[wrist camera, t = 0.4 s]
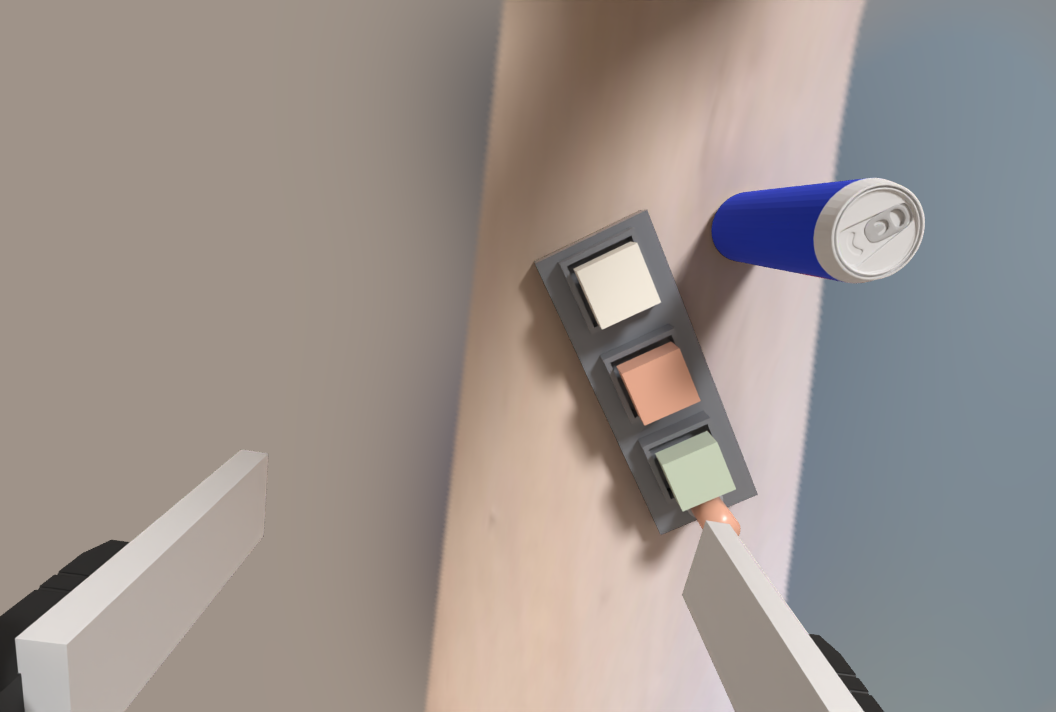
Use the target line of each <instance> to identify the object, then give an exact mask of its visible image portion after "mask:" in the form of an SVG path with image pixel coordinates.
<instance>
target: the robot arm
mask: <svg viewBox="0 0 1056 712" xmlns="http://www.w3.org/2000/svg"><path fill="white" fill-rule="evenodd" d="M268 456H269V454H268V453H263V452H256V451H250V450H243V449H241V450H240V451H239V452H237V453H236V454H235V455H234V456H233V457H231V458H230V459H229V460H228V461H227V462H225V463H224V464H223V465H222V466H221V467H219V468H218V469H217V470H216V471H215V472H213V473H212V474H211V475H210V476H209V477H207V478H206V479H205V480H204V481H203V482H201V483H200V484H199V485H198V486H197V487H195V488H194V489H193V490H192V491H191V492H189V493H188V494H187V495H186V496H185V497H183V498H182V499H181V500H180V501H179V502H178V503H176V504H175V505H174V506H173V507H172V508H170V509H169V510H168V511H167V512H166V513H164V514H163V515H162V516H161V517H160V518H158V519H157V520H156V521H155V522H154V523H153V524H151V525H150V526H149V527H148V528H147V529H145V530H144V531H143V532H142V533H141V534H140V535H138V536H137V537H136V538H135V539H133V540H132V541H131V542H124V541H117V540H110V541H108V542H106V543H103V544H101V545H100V546H97V547H95V548H93V549H91V550H88V551H86V552H84V553H82V554H81V555H79V556H78V557H77V558H76V559H74V560H73V561H72V562H71V563H69V564H68V565H66V566H65V567H64V568H63V569H61V570H60V571H59V573H58V575H53V576H52V577H51V578H50V579H48V580H47V581H46V582H44V583H43V584H42V585H40V588H39V589H38V590H34V591H33V592H32V593H30V594H29V595H28V596H26V597H25V598H24V599H22V600H21V601H20V602H18V603H17V604H16V605H15V606H13V607H12V608H11V609H9V610H8V611H7V612H5V613H4V614H3V615H2V616H0V712H124V711H125V710H126V709H127V708H128V706H129V705H130V704H131V702H132V701H133V700H134V699H135V697H136V696H137V695H138V694H139V692H140V691H141V690H142V689H143V687H144V686H145V685H146V684H147V682H148V681H149V680H150V679H151V677H152V676H153V675H154V674H155V672H156V671H157V670H158V669H159V667H160V666H161V665H162V664H163V662H164V661H165V660H166V658H167V657H168V656H169V655H170V653H171V652H172V651H173V650H174V648H175V647H176V646H177V645H178V643H179V642H180V641H181V640H182V638H183V637H184V636H185V635H186V633H187V632H188V631H189V630H190V628H191V627H192V626H193V624H194V623H195V622H196V621H197V619H198V618H199V617H200V616H201V614H202V613H203V612H204V611H205V609H206V608H207V607H208V606H209V604H210V603H211V602H212V601H213V599H214V598H215V597H216V595H217V594H218V593H219V592H220V590H221V589H222V588H223V587H224V585H225V584H226V583H227V582H228V580H229V579H230V578H231V577H232V575H233V574H234V573H235V572H236V570H237V569H238V568H239V566H240V565H241V564H242V563H243V561H244V560H245V559H246V558H247V556H248V555H249V554H250V552H251V551H252V550H253V549H254V548H255V546H256V545H257V544H258V543H259V541H260V540H261V539H262V537H263V536H264V524H265V507H266V490H267V472H268ZM682 596H683V598H684V600H685V602H686V604H687V607H688V609H689V611H690V613H691V615H692V618H693V620H694V622H695V624H696V626H697V629H698V631H699V633H700V635H701V638H702V640H703V642H704V644H705V646H706V649H707V651H708V653H709V655H710V657H711V660H712V662H713V664H714V666H715V668H716V671H717V673H718V675H719V677H720V679H721V682H722V684H723V686H724V688H725V691H726V693H727V695H728V697H729V699H730V702H731V704H732V706H733V708H734V710H735V712H884V711H883V710H882V709H881V707H880V706H879V704H878V703H877V702H876V701H875V699H874V698H873V697H872V696H871V695H869V694H868V690H867V689H866V687H865V686H864V685H863V683H862V682H861V681H860V679H859V678H856V676H855V675H856V674H855V673H854V671H853V670H852V669H851V667H850V666H849V665H848V663H847V662H846V661H845V659H844V658H843V657H842V656H841V654H840V653H839V652H838V651H836V650H835V649H834V648H833V647H832V646H831V645H830V644H828V643H827V642H826V641H825V640H824V639H823V638H822V637H821V636H819V635H814V634H808V633H807V631H806V630H805V629H804V627H803V626H802V625H801V623H800V622H799V621H798V619H797V617H796V616H795V615H794V613H793V612H792V610H791V609H790V608H789V606H788V605H787V603H786V602H785V601H784V599H783V598H782V597H781V595H780V594H779V592H778V591H777V590H776V588H775V587H774V585H773V584H772V583H771V581H770V580H769V578H768V577H767V576H766V574H765V573H764V571H763V570H762V569H761V567H760V566H759V564H758V563H757V562H756V560H755V559H754V557H753V556H752V555H751V553H750V552H749V550H748V549H747V548H746V546H745V545H744V543H743V542H742V541H741V539H740V538H739V536H738V535H737V534H736V532H735V531H734V529H733V528H732V527H731V525H730V524H726V523H720V522H713V521H707V520H706V522H705V525H704V528H703V531H702V534H701V537H700V540H699V543H698V547H697V550H696V553H695V556H694V559H693V562H692V565H691V568H690V572H689V575H688V578H687V581H686V584H685V587H684V590H683V594H682Z"/></svg>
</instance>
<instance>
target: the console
mask: <svg viewBox="0 0 1056 712" xmlns="http://www.w3.org/2000/svg"><path fill="white" fill-rule="evenodd" d="M630 241H631V242H636V243H638V246H639V248H640V251H641V253H642V256H643V258H644V261H645V263H646V266H647V268H648V271H649V273H650V276H651V278H652V281H653V283H654V286H655V288H656V291H657V293H658V296H659V298H660V301H661V303H659V304H657V305H654V306H652V307H650V308H648V309H646V310H644V311H641V312H639V313H637V314H635V315H633V316H631V317H628V318H626V319H624V320H622V321H620V322H618V323H615V324H613V325H611V326H609V327H607V328H605V329H601V327H600V326H599V325H598V324H597V321H596V319H595V317H594V315H593V312H592V310H591V308H590V306H589V303H588V301H587V299H586V297H585V294H584V292H583V290H582V287H581V285H580V283H579V281H578V278H577V276H576V274H575V272H574V268H576V267H578V266H580V265H582V264H584V263H586V262H588V261H591V260H593V259H595V258H597V257H599V256H601V255H603V254H605V253H607V252H609V251H612V250H614V249H616V248H618V247H620V246H622V245H624V244H626V243H628V242H630ZM534 263H535V265H536V267H537V269H538V271H539V273H540V276H541V278H542V280H543V282H544V284H545V286H546V289H547V291H548V293H549V295H550V297H551V299H552V302H553V304H554V306H555V308H556V310H557V312H558V314H559V317H560V319H561V321H562V323H563V325H564V327H565V330H566V332H567V334H568V336H569V338H570V340H571V342H572V345H573V347H574V349H575V351H576V353H577V355H578V358H579V360H580V362H581V364H582V366H583V368H584V371H585V373H586V375H587V377H588V379H589V381H590V383H591V386H592V388H593V390H594V392H595V394H596V396H597V399H598V401H599V403H600V405H601V407H602V409H603V412H604V414H605V416H606V418H607V420H608V422H609V424H610V427H611V429H612V431H613V433H614V435H615V437H616V440H617V442H618V444H619V446H620V448H621V450H622V453H623V455H624V457H625V459H626V461H627V463H628V465H629V468H630V470H631V472H632V474H633V476H634V478H635V481H636V483H637V485H638V487H639V489H640V491H641V493H642V496H643V498H644V500H645V502H646V504H647V506H648V509H649V511H650V513H651V515H652V517H653V519H654V522H655V524H656V526H657V528H658V530H659V532H660V534H661V535H662V534H664V533H667V532H669V531H671V530H674V529H676V528H679V527H681V526H683V525H686V524H688V523H691V522H693V521H695V520H697V521H698V523H699V524H700V526H701V528H702V529H703V528H704V525H705V522H706V520H707V521H713V522H720V523H726V524H730V525H731V527H732V528H733V529H734V531H735V532H736V534H737V535H738V536H739V534H740V525H739V523H738V521H737V520H736V519H735V517H734V516H733V515H732V513H731V512H730V511H729V509H728V508H727V507H729V506H732V505H734V504H736V503H739V502H741V501H744V500H746V499H749V498H751V497H753V496H756V495H758V494H757V491H756V489H755V486H754V484H753V481H752V478H751V476H750V473H749V471H748V468H747V466H746V463H745V460H744V458H743V455H742V453H741V450H740V448H739V445H738V442H737V440H736V437H735V435H734V432H733V430H732V427H731V424H730V422H729V419H728V417H727V414H726V412H725V409H724V406H723V404H722V401H721V399H720V396H719V394H718V391H717V388H716V386H715V383H714V381H713V378H712V376H711V373H710V370H709V368H708V365H707V363H706V360H705V358H704V355H703V352H702V350H701V347H700V345H699V342H698V340H697V337H696V334H695V332H694V329H693V327H692V324H691V322H690V319H689V316H688V314H687V311H686V309H685V306H684V304H683V301H682V298H681V296H680V293H679V291H678V288H677V286H676V283H675V280H674V278H673V275H672V273H671V270H670V268H669V265H668V262H667V260H666V257H665V255H664V252H663V250H662V247H661V244H660V242H659V239H658V237H657V234H656V232H655V229H654V226H653V224H652V221H651V219H650V216H649V214H648V211H647V210H640V211H638V212H636V213H634V214H631V215H629V216H627V217H625V218H623V219H621V220H619V221H617V222H615V223H613V224H611V225H609V226H607V227H604V228H602V229H600V230H598V231H596V232H594V233H592V234H590V235H588V236H586V237H584V238H582V239H580V240H578V241H575V242H573V243H571V244H569V245H567V246H565V247H563V248H561V249H559V250H557V251H555V252H553V253H551V254H548V255H546V256H544V257H542V258H540V259H538V260H536V261H534ZM668 342H672V343H674V344H675V345H676V346H677V347H679V348H680V351H681V353H682V356H683V358H684V361H685V363H686V366H687V368H688V371H689V373H690V376H691V378H692V381H693V383H694V386H695V388H696V390H697V393H698V395H699V398H700V400H701V401H700V402H697V403H695V404H693V405H691V406H688V407H686V408H684V409H681V410H679V411H677V412H675V413H672V414H670V415H668V416H665V417H663V418H661V419H659V420H656V421H654V422H652V423H649V424H647V425H644V424H643V422H642V421H641V419H640V417H639V416H638V414H637V412H636V409H635V407H634V405H633V403H632V400H631V398H630V396H629V394H628V391H627V389H626V387H625V385H624V382H623V380H622V378H621V376H620V373H619V371H618V369H617V367H616V366H618V365H620V364H622V363H624V362H626V361H629V360H631V359H633V358H635V357H637V356H640V355H642V354H644V353H646V352H648V351H651V350H653V349H655V348H657V347H660V346H662V345H664V344H666V343H668ZM706 431H708V432H709V433H710V435H711V436H712V437H713V438H714V439H715V440H716V441H717V443H718V445H719V448H720V450H721V453H722V455H723V458H724V460H725V463H726V465H727V468H728V470H729V473H730V475H731V478H732V480H733V483H734V485H735V488H736V490H733V491H731V492H728V493H726V494H724V495H721V496H719V497H716V498H714V499H712V500H709V501H707V502H704V503H702V504H700V505H697V506H695V507H692V508H690V509H688V510H685V511H682V510H681V508H680V506H679V504H678V503H677V501H676V499H675V497H674V495H673V493H672V490H671V488H670V486H669V484H668V481H667V479H666V477H665V475H664V472H663V470H662V468H661V466H660V463H659V461H658V459H657V457H656V454H655V453H657V452H659V451H662V450H664V449H666V448H668V447H671V446H673V445H675V444H678V443H680V442H682V441H685V440H687V439H689V438H692V437H694V436H696V435H699V434H701V433H703V432H706Z"/></svg>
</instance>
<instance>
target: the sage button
mask: <svg viewBox="0 0 1056 712" xmlns="http://www.w3.org/2000/svg"><path fill="white" fill-rule="evenodd" d="M655 454H656V457H657V459H658V461H659V463H660V466H661V468H662V470H663V472H664V475H665V477H666V479H667V481H668V484H669V486H670V488H671V490H672V493H673V495H674V497H675V499H676V501H677V503H678V504H679V506H680V508H681V510H682V511H685V510H688V509H690V508H692V507H695V506H697V505H700V504H702V503H704V502H707V501H709V500H712V499H714V498H716V497H719V496H721V495H724V494H726V493H728V492H731V491H733V490H736V488H735V485H734V483H733V480H732V478H731V475H730V473H729V470H728V468H727V465H726V463H725V460H724V458H723V455H722V453H721V450H720V448H719V445H718V443H717V441H716V440H715V439H714V438H713V437H712V436H711V435H710V433H709V432H708V431H706V432H703V433H701V434H699V435H696V436H694V437H692V438H689V439H687V440H685V441H682V442H680V443H678V444H675V445H673V446H671V447H668V448H666V449H664V450H662V451H659V452H657V453H655Z"/></svg>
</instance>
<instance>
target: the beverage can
mask: <svg viewBox="0 0 1056 712" xmlns="http://www.w3.org/2000/svg"><path fill="white" fill-rule="evenodd" d="M924 228H925V218H924V212H923V209H922V206H921V204H920V202H919V200H918V199H917V197H916V196H915V195H914V194H913V193H912V192H911V191H910V190H909V189H907V188H905V187H903V186H902V185H899V184H896V183H894V182H892V181H888V180H886V179H880V178H867V179H857V180H848V181H839V182H830V183H821V184H812V185H804V186H795V187H786V188H777V189H768V190H759V191H751V192H743V193H739V194H736V195H734V196H732V197H730V198H729V199H728V200H726V201H725V202H724V203H723V204H722V205H721V206H720V208H719V209H718V211H717V212H716V214H715V217H714V219H713V223H712V238H713V242H714V244H715V247H716V248H717V250H718V251H719V252H720V253H721V254H722V255H723V256H725V257H726V258H728V259H730V260H733V261H738V262H743V263H748V264H753V265H758V266H763V267H769V268H774V269H779V270H784V271H789V272H794V273H800V274H805V275H810V276H815V277H820V278H825V279H830V280H836V281H841V282H846V283H864V282H869V281H873V280H876V279H881V278H885V277H887V276H890V275H892V274H894V273H896V272H897V271H899V270H900V269H901V268H903V267H904V266H905V265H906V264H907V263H908V262H909V261H910V260H911V259H912V257H913V256H914V254H915V253H916V251H917V250H918V248H919V246H920V244H921V241H922V238H923V234H924Z"/></svg>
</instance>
